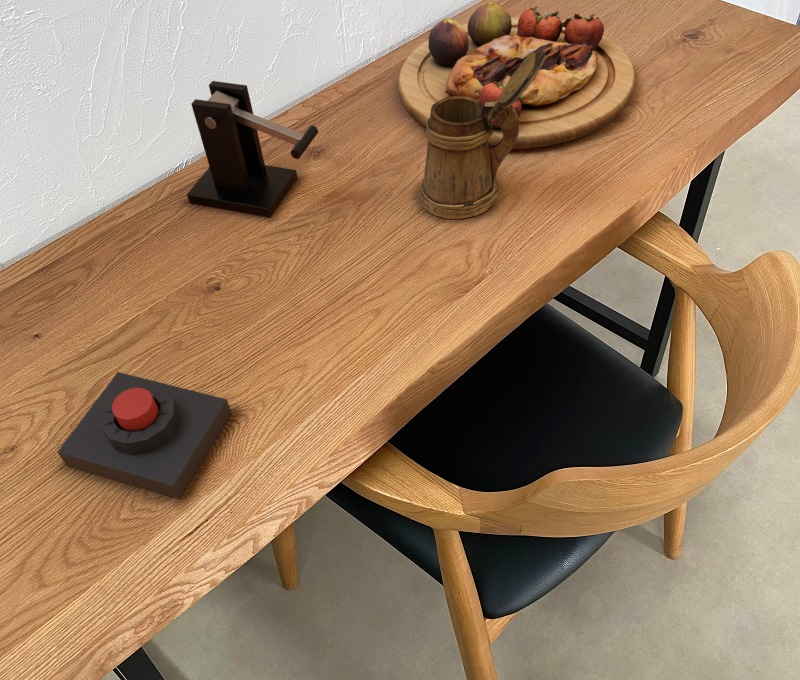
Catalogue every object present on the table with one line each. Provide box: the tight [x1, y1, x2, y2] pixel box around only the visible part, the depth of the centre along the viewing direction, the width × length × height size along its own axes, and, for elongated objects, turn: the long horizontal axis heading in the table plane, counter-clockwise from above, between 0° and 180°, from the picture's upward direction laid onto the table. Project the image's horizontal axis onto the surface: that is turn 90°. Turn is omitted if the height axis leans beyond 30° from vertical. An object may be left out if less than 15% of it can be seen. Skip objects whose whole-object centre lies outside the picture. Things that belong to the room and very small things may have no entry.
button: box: [112, 388, 158, 431], centre depth 71 cm, size 4×4×2 cm
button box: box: [57, 371, 233, 500], centre depth 73 cm, size 12×10×4 cm
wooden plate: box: [396, 0, 637, 149], centre depth 106 cm, size 32×32×8 cm
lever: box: [206, 91, 319, 160], centre depth 89 cm, size 12×5×2 cm, turn 70°
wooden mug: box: [419, 51, 547, 220], centre depth 87 cm, size 9×14×18 cm, turn 79°
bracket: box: [186, 80, 299, 219], centre depth 93 cm, size 11×8×13 cm
